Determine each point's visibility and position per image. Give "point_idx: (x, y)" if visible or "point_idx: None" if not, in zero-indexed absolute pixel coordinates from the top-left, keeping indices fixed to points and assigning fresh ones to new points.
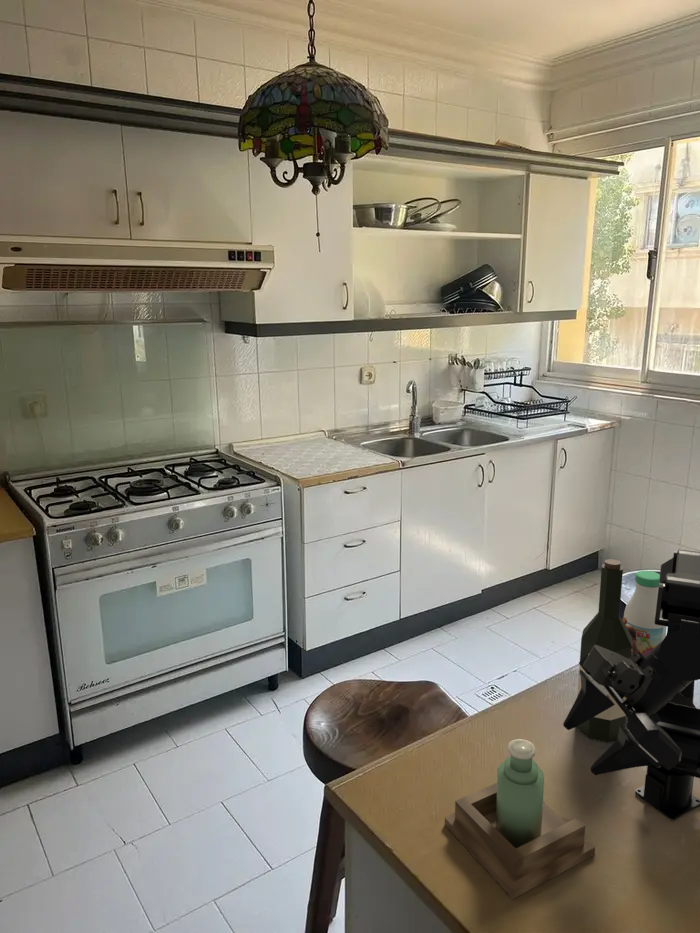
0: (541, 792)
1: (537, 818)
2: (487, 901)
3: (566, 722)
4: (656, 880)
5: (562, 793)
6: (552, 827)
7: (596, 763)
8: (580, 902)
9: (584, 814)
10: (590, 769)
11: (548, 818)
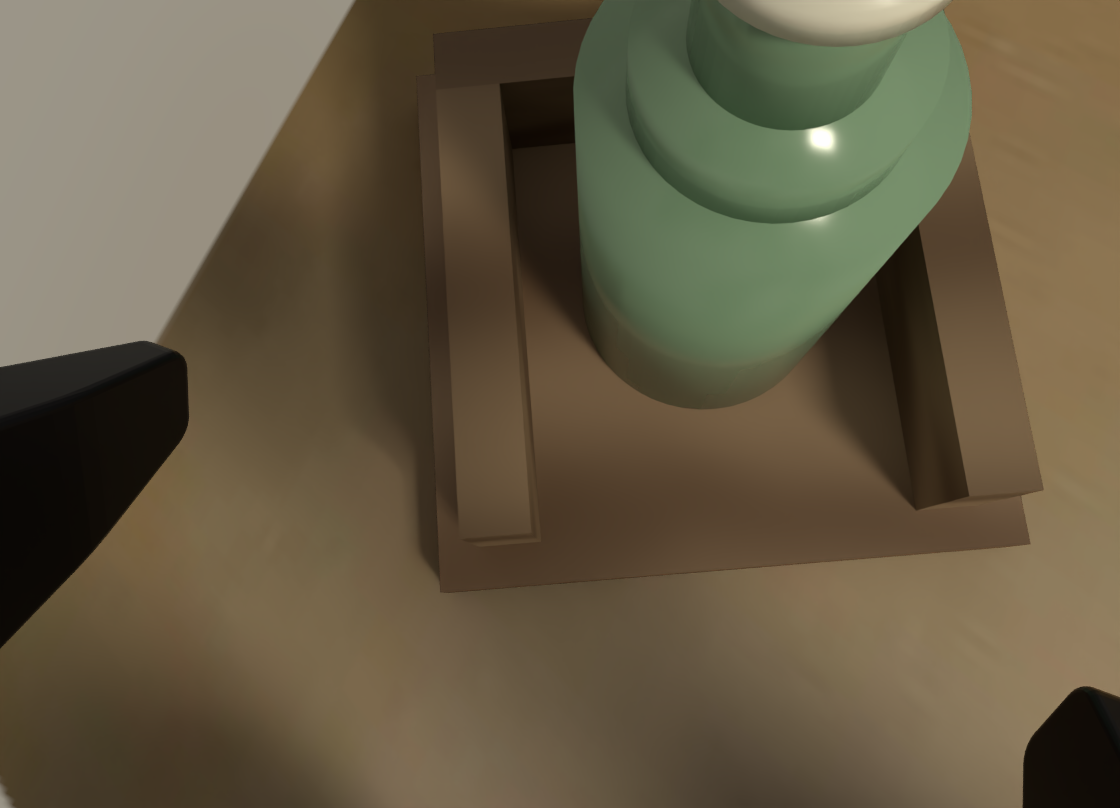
0: (592, 209)
1: (582, 257)
2: (464, 12)
3: (1113, 733)
4: (188, 761)
5: (895, 761)
6: (649, 475)
7: (53, 372)
8: (279, 339)
9: (698, 757)
10: (162, 348)
11: (713, 499)
